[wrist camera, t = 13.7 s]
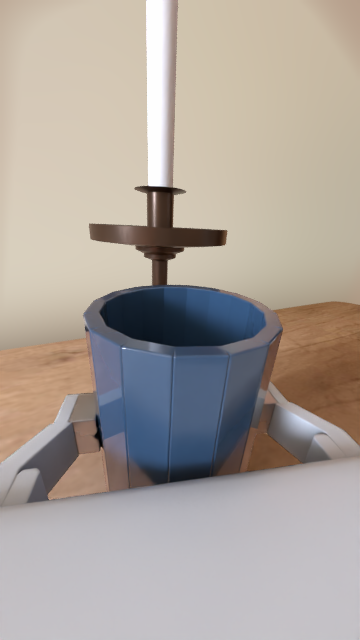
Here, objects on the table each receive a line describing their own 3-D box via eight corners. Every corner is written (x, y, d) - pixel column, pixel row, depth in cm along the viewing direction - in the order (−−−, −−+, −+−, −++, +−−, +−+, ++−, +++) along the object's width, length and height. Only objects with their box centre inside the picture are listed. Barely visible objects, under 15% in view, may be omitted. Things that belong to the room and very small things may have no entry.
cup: (191, 426, 16) (205, 280, 12) (259, 523, 11) (327, 327, 7) (99, 466, 13) (74, 291, 9) (134, 628, 8) (112, 390, 4)
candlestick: (109, 350, 27) (62, -143, 13) (193, 343, 30) (226, -79, 16) (100, 419, 17) (-103, -1110, 4) (226, 401, 20) (386, -557, 6)
